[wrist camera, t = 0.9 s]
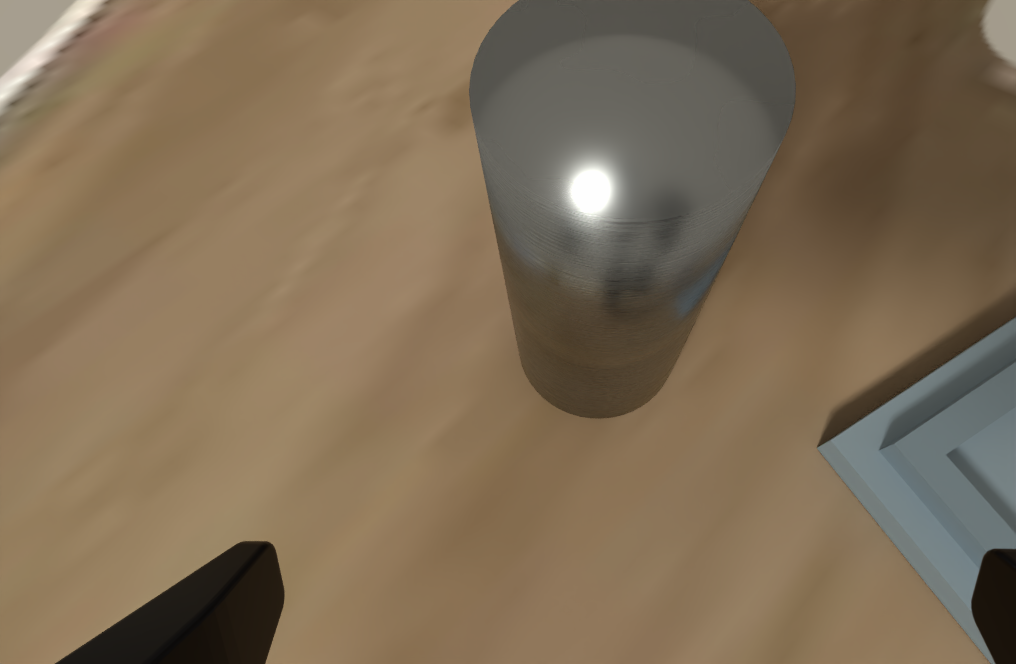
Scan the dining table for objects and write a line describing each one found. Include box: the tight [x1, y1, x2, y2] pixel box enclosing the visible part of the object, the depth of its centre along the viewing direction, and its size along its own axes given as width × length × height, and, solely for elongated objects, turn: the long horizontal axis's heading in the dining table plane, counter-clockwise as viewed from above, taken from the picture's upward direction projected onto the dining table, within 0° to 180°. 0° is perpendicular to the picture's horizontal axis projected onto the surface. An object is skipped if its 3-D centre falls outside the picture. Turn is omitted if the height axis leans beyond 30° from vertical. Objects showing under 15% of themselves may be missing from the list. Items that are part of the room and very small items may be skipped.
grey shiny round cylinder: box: [469, 0, 796, 418], centre depth 17 cm, size 6×6×13 cm
